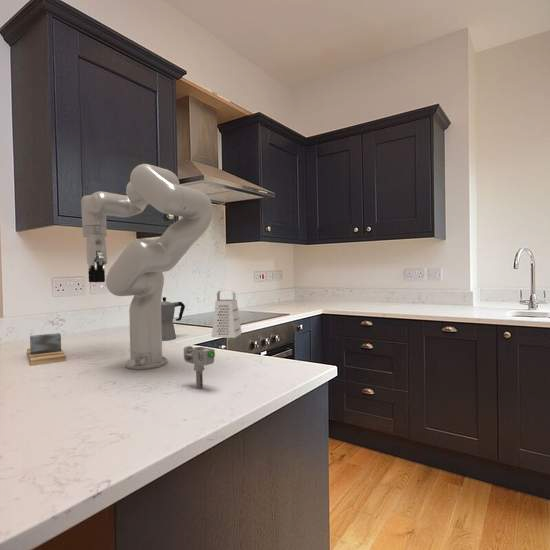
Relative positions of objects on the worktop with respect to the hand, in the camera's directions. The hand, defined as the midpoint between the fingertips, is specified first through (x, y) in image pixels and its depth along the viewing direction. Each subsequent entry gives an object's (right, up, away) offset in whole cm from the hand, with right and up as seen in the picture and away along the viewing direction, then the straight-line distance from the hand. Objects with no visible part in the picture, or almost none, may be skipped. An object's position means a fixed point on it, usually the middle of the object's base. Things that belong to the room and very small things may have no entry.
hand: (96, 282), depth 132 cm
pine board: (-19, -26, +3) cm, 33 cm away
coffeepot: (+15, -25, +34) cm, 45 cm away
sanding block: (-19, -25, +3) cm, 31 cm away
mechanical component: (+42, -26, -36) cm, 61 cm away
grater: (+40, -25, +39) cm, 61 cm away
